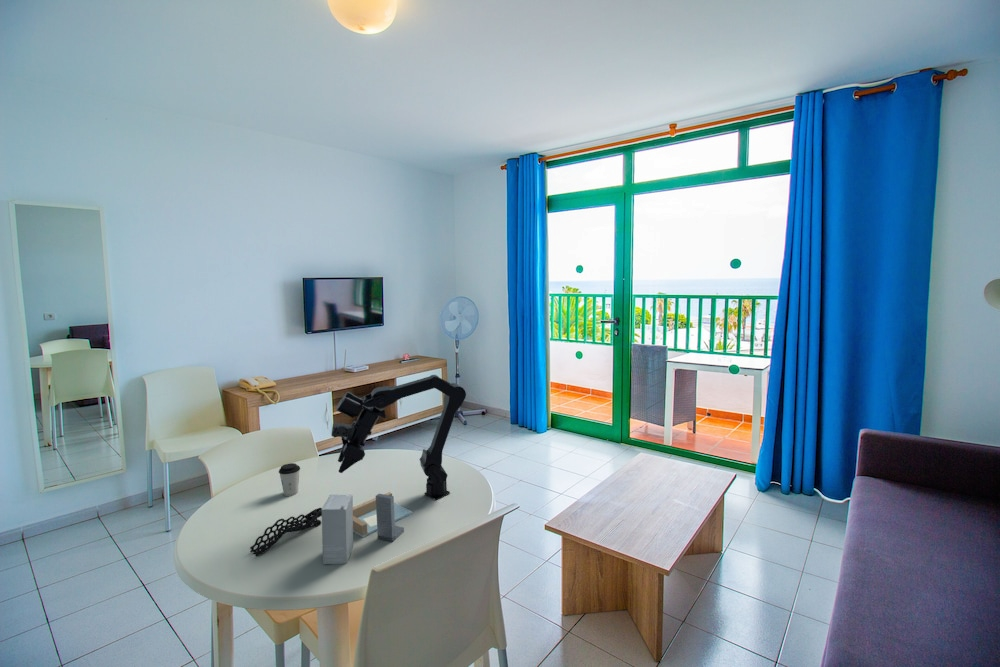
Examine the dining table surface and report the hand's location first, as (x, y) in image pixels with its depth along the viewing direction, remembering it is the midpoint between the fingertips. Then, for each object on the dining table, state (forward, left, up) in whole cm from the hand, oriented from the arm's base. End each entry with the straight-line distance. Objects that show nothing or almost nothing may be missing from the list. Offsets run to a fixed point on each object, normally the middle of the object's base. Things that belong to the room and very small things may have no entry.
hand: (339, 466), depth 148 cm
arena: (-4, +13, -15) cm, 20 cm away
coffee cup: (+5, -26, -15) cm, 30 cm away
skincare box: (+14, +22, -15) cm, 30 cm away
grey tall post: (-2, +24, -15) cm, 28 cm away
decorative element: (+18, +2, -15) cm, 23 cm away
